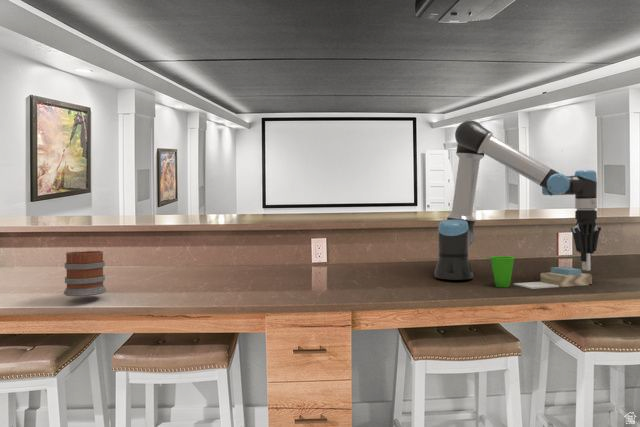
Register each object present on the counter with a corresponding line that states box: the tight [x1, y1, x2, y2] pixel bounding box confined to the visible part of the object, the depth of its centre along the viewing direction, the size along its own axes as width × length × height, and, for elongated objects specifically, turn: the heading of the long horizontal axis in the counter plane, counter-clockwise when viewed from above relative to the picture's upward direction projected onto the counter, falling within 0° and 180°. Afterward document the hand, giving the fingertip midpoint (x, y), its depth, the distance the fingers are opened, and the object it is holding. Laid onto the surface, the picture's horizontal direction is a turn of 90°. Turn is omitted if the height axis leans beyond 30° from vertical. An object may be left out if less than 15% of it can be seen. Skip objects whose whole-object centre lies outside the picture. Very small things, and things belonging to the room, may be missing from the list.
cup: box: [489, 255, 516, 288], centre depth 188 cm, size 9×9×11 cm
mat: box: [513, 281, 560, 290], centre depth 188 cm, size 12×10×1 cm
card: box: [550, 266, 582, 275], centre depth 192 cm, size 6×9×2 cm, turn 18°
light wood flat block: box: [540, 271, 593, 288], centre depth 192 cm, size 15×10×4 cm, turn 108°
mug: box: [63, 250, 107, 297], centre depth 182 cm, size 14×19×15 cm
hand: (586, 269), depth 195 cm, fingers closed
